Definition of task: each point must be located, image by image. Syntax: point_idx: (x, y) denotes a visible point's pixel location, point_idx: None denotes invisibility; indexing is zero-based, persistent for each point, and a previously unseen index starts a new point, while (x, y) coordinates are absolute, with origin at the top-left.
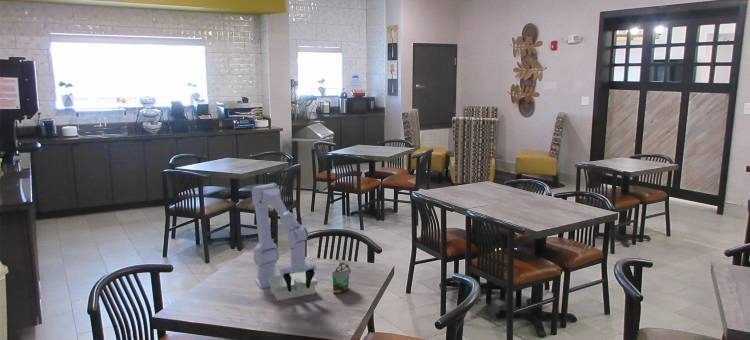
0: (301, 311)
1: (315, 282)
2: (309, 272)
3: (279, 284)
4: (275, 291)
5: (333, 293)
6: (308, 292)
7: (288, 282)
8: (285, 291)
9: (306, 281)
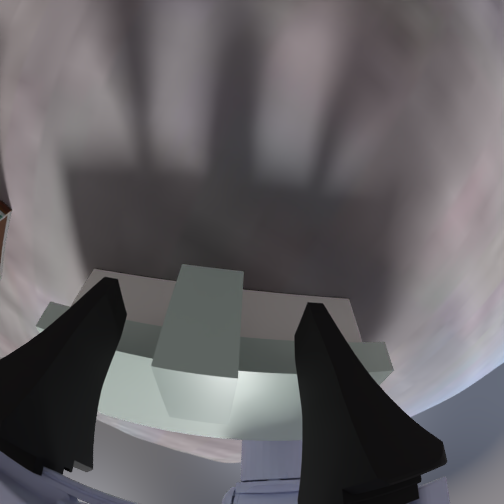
0: (307, 41)
1: (52, 320)
2: (12, 442)
3: None
4: (382, 350)
5: (9, 210)
6: (127, 285)
7: (380, 401)
8: None
9: (105, 355)
